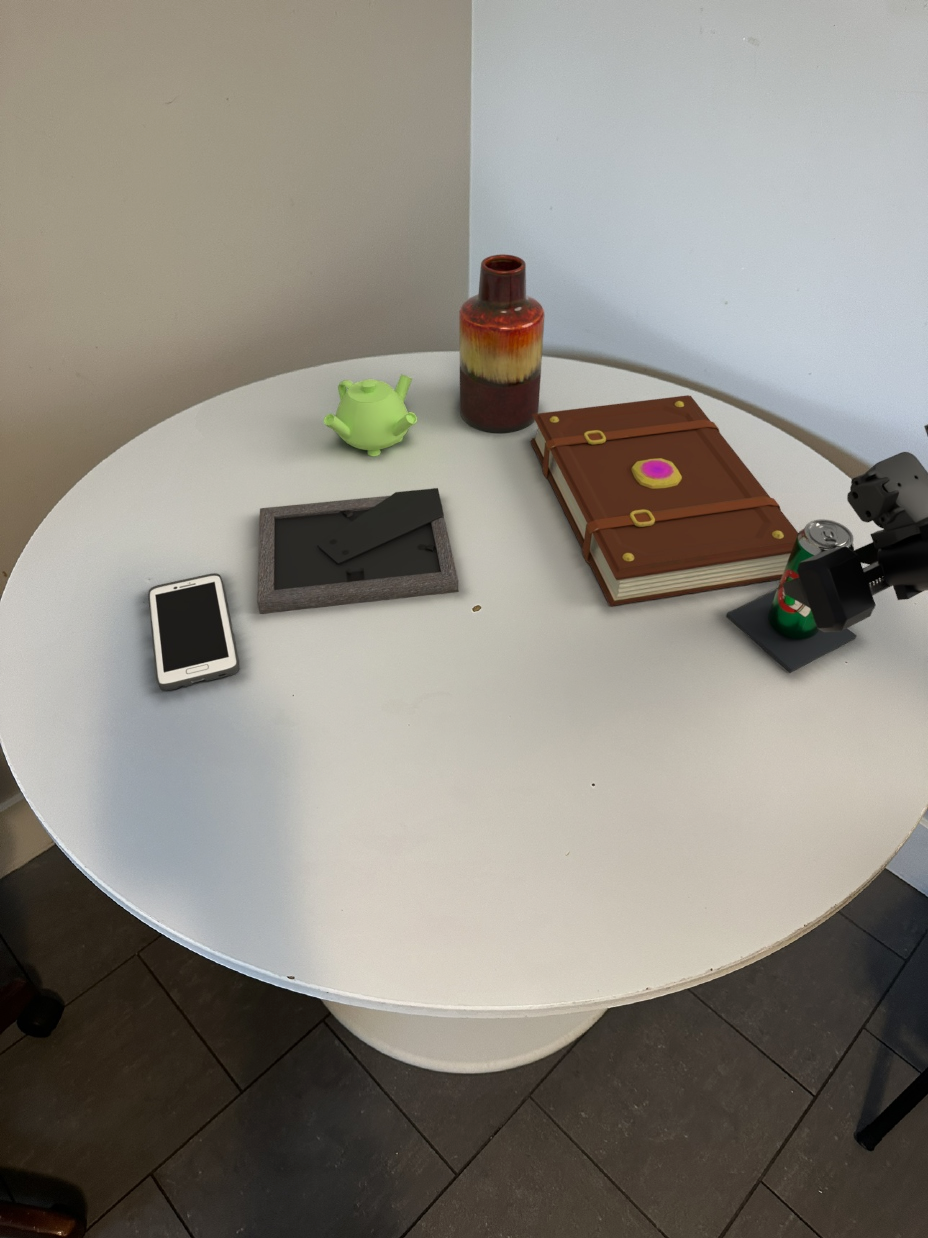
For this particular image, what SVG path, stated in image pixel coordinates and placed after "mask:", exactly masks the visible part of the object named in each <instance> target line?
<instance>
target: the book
mask: <svg viewBox="0 0 928 1238" xmlns="http://www.w3.org/2000/svg"><path fill="white" fill-rule="evenodd" d="M532 416H533V417H534V419H535V421H534V422H535V424H536V425H537V426H536V427H537V429H536V435H535V437H533V438H531V439H530V441H529V442H530V444H531V446H532V448H533V450H534V452H535V454H536V457H537V458H538V460H539V462H540V465H541V467H542V473H543V475H544V477H545V479H548V481H549V483H550V485H551V488H552V489H553V491H554V493H555V495H556V498H557V500H558V502H559V504H560V505H561V508H562V510H563V512H564V514H565V516H566V518H567V520H568V523H569V525H570V526H571V529H572V530H573V533H574V535H575V537H576V538H577V541H578V543H579V545H580V547H581V549H582V553H581V554H582V556H583V559H584V560H585V562H586V563H588V564H589V566H590V568H591V570H592V572H593V574H594V576H595V578H596V580H597V582H598V584H599V586H600V589H601V591H602V592H603V595H604V597H605V599H606V601H607V603H608V605H609V606H610V607H613V606H618V605H625V604H630V603H636V602H637V603H638V602H644V601H650V600H657V599H662V598H663V599H664V598H668V597H676V596H682V595H686V594H687V595H689V594H694V593H695V594H696V593H700V592H708V591H712V590H718V589H724V588H725V589H726V588H731V587H732V588H733V587H738V586H745V585H750V584H757V583H764V582H770V581H776V580H781V578H782V575H783V572H784V570H785V567H786V564H787V562H788V559H789V556H790V554H791V551H792V548H793V545H794V543H795V540H796V537H797V535H798V533H799V531H798V530H797V529H796V527H794V525H793V524H792V523H791V522H790V520H789V519H788V518H787V516H786V515H785V513H783V511H782V510H781V506H780V504H779V503H778V501H776V499H775V498H774V497H771V496H770V494H768V492H767V491H766V490H765V488H764V487H763V486H762V485H761V483H760V482H759V481H758V479H757V478H756V476H755V475H754V474H753V473H752V472H751V471H750V469H749V468H748V467H747V465H746V464H745V463H744V461H742V459H741V458H740V456H739V455H738V454H737V453H736V451H735V450H734V449H733V448H732V446H731V444H729V442H728V441H727V440H726V439H725V437H724V436H723V435H722V433H721V432H720V429H719V426H718V425H716V423H715V422H714V421H711V420H710V418H709V417H708V416H707V414H706V413H705V412H704V410H703V409H702V408H701V406H699V404H698V403H697V402H696V400H695V399H694V398H693V397H692V395H688V394H687V395H680V396H679V395H677V396H671V397H663V398H655V399H647V400H639V401H630V402H629V401H628V402H620V403H612V404H605V405H604V404H603V405H596V406H588V407H581V408H571V409H563V410H555V411H554V410H553V411H547V412H538V414H532Z"/></svg>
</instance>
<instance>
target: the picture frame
mask: <svg viewBox="0 0 928 1238" xmlns="http://www.w3.org/2000/svg"><path fill="white" fill-rule="evenodd" d="M258 523H259V525H258V526H259V527H258V534H259V535H258V561H257V563H258V564H257V594H256V595H257V600H256V603H257V608H258V611H259V614H260V615H261V614H269V613H279V612H286V611H297V610H304V609H314V608H323V607H332V606H339V605H350V604H360V603H369V602H378V601H387V600H394V599H405V598H412V597H422V596H431V595H440V594H441V595H442V594H449V593H457V592H459V578H458V577H459V576H458V572H457V568H456V563H455V559H454V555H453V551H452V546H451V542H450V537H449V531H448V529H447V525H446V520H445V514H444V509H443V505H442V499H441V496H440V491H439V488H438V487H433V488H423V489H414V490H412V489H411V490H403V491H395V492H394V493H392V494H391V495H381V496H371V497H360V498H351V499H341V500H332V501H331V500H329V501H321V502H320V501H319V502H311V503H299V504H289V505H279V506H269V507H260V508H259V522H258Z"/></svg>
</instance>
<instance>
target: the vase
mask: <svg viewBox="0 0 928 1238" xmlns="http://www.w3.org/2000/svg"><path fill="white" fill-rule="evenodd" d="M526 265H527V264H526V261H525V260H524V259H523V258H522V257H519V256H517V255H513V254H505V253H504V254H503V253H502V254H494V255H490V256H487V257H485V258H484V259H482V260H481V262H480V269H479V282H478V293H477V294H476V295H473V296H471V297H469V298H468V299H466V300H465V301H464V302H462V303H463V304H462V305H461V306H460V309H459V311H458V313H459V315H458V316H459V317H458V318H459V319H458V320H459V321H458V324H459V325H458V334H459V343H458V345H459V346H458V347H459V348H458V349H459V413H460V416H461V418H462V420H463V421H464V422H465V423H466V424H467V425H469V426H470V427H472V428H473V429H476V430H479V431H482V432H487V433H495V434H505V433H513V432H517V431H521V430H524V429H525V428H527V427H529V426H531V425H532V424H533V423H534V422H536V421H535V419H534V417H533V416H532V414H538V413H539V405H540V392H541V378H542V363H543V362H542V361H543V349H544V348H543V347H544V334H545V333H544V331H545V317H546V316H545V315H546V314H545V309H544V307H543V305H542V304H541V303H540V301H538V300H537V299H536V298H534V297H532V296H531V295H528V294H527V266H526Z"/></svg>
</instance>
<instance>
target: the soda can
mask: <svg viewBox="0 0 928 1238" xmlns="http://www.w3.org/2000/svg"><path fill="white" fill-rule="evenodd" d="M854 539H855V537H854V534H853V532H851V530H850V529H849V528H848V527H847V526H845V525H844V524H842V523H840V522H837V521H834V520H831V519H824V518H823V519H821V518H820V519H813V520H811V521H809V522H807V524H805V526H804V527H803V528H801V530H799V531H798V535H797V537H796V540H795V543H794V545H793V548H792V551H791V554H790V556H789V559H788V562H787V564H786V567H785V570H784V572H783V575H782V578H781V579H780V580H779V583H778V586H777V589H776V590H777V591H776V594H775V597H774V599H773V602H772V605H771V608H770V610H769V613H768V620H769V623H770V624H771V626H772V627H773V629H774V630H775V631H776V632H777V633H779V634H780V635H782V636H784V637H786V638H789V639H794V640H802V639H807V638H810V637H813V636H814V635H816V634H817V633H818V631H819V629H817V626H816V623H815V621H814V618H813V615H812V612H811V609H810V608H809V607H807V606H805V605H803V604H802V603H800V602H798V601H796V600H794V599H793V598H791V597H789V596H787V595H786V594H785V591H784V588H783V584H784V583H786V582H788V581H790V580H793V579H795V578H797V577H799V576H798V573H797V569H798V566H799V563H800V562H802V561H804V560H806V559H808V558H810V557H813V556H815V555H817V554H819V553H821V552H823V551H826V550H830V549H833V548H837V547H842V546H846V547H848V548H849V549H851V550H852V551H853V552H854V550H855V546H854Z"/></svg>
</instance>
